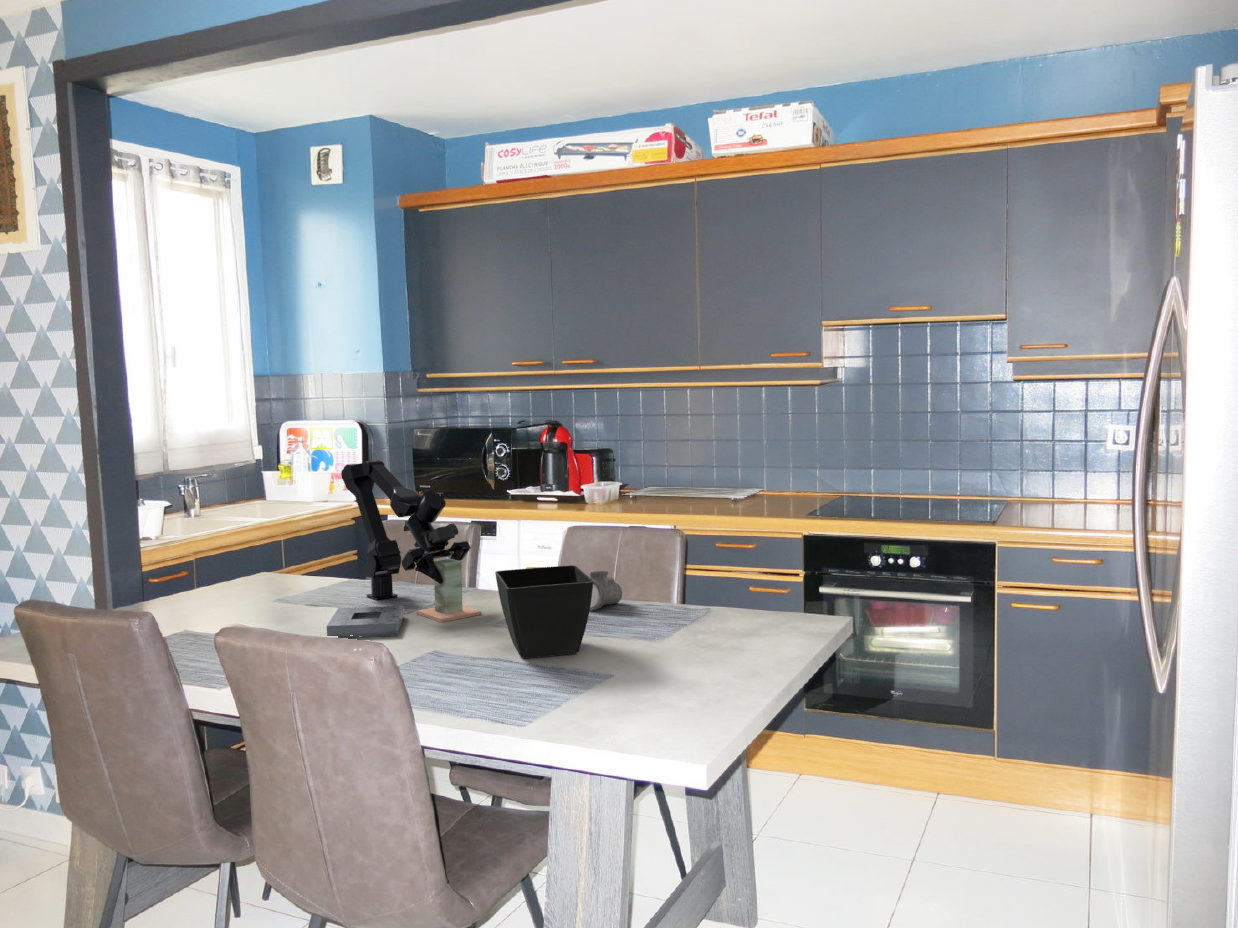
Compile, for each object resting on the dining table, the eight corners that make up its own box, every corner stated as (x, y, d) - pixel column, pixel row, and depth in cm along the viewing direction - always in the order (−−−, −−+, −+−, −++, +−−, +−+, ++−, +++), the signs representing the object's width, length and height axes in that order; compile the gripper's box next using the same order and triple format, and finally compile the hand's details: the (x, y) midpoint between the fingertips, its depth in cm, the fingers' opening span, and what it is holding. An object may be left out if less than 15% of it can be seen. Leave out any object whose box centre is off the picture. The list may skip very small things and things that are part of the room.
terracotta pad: (416, 613, 251) (416, 610, 251) (456, 606, 259) (456, 603, 259) (441, 622, 242) (441, 619, 242) (481, 614, 250) (481, 611, 250)
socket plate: (338, 619, 245) (338, 608, 245) (403, 617, 247) (403, 605, 247) (327, 638, 228) (326, 625, 227) (396, 635, 230) (396, 623, 229)
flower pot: (508, 664, 206) (507, 586, 204) (495, 641, 224) (494, 569, 222) (595, 657, 211) (595, 581, 209) (576, 635, 229) (575, 564, 227)
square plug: (435, 611, 250) (433, 561, 249) (450, 607, 254) (449, 558, 253) (446, 614, 247) (445, 563, 246) (462, 610, 251) (461, 561, 249)
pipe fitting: (599, 612, 250) (599, 571, 250) (575, 610, 255) (575, 570, 255) (628, 608, 259) (628, 569, 260) (604, 606, 264) (604, 568, 265)
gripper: (407, 518, 244) (434, 567, 238) (465, 510, 258) (493, 556, 251) (389, 545, 250) (416, 594, 244) (448, 536, 264) (474, 582, 257)
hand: (451, 580), depth 249 cm, fingers open, 6 cm apart
